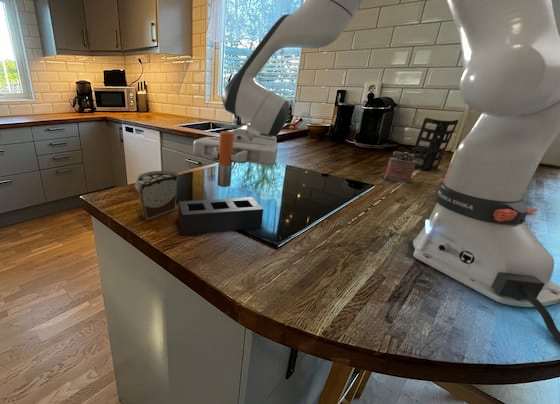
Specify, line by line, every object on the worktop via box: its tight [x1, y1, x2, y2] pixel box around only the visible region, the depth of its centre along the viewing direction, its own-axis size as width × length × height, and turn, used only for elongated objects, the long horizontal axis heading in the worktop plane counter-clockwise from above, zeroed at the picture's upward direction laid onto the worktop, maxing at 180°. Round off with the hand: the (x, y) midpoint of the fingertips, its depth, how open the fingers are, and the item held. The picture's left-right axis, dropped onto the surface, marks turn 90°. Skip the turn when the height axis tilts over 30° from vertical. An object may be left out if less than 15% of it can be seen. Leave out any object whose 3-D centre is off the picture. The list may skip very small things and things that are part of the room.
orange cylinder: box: [216, 130, 234, 188], centre depth 66 cm, size 3×3×12 cm
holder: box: [411, 117, 459, 172], centre depth 116 cm, size 11×8×20 cm
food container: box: [134, 170, 180, 221], centre depth 76 cm, size 12×6×10 cm, turn 134°
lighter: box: [383, 151, 418, 183], centre depth 104 cm, size 8×3×10 cm, turn 58°
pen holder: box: [177, 196, 264, 236], centre depth 71 cm, size 8×19×5 cm, turn 101°
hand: (224, 157), depth 65 cm, fingers closed on orange cylinder, 3 cm apart
